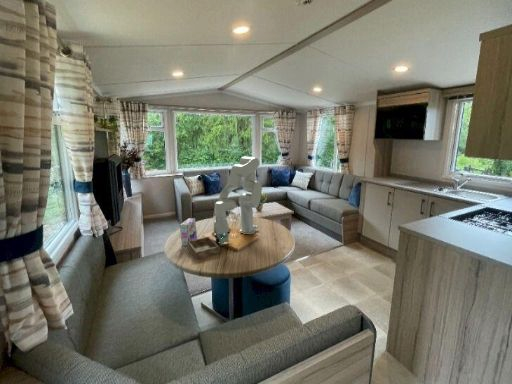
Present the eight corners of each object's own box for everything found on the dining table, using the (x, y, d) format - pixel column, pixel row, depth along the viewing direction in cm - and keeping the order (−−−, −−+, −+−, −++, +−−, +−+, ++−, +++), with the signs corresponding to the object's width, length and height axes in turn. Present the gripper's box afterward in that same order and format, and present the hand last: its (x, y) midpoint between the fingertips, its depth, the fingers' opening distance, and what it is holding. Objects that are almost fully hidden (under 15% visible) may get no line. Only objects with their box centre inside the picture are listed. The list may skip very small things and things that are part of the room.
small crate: (223, 239, 191) (222, 232, 190) (228, 243, 183) (228, 237, 182) (215, 240, 188) (215, 234, 187) (221, 245, 180) (220, 239, 179)
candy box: (189, 246, 180) (187, 224, 177) (181, 246, 182) (179, 224, 178) (197, 238, 194) (195, 218, 190) (190, 238, 195) (188, 217, 191)
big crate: (209, 242, 186) (208, 236, 185) (220, 253, 169) (219, 246, 168) (187, 248, 178) (187, 241, 177) (196, 259, 161) (196, 252, 160)
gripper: (229, 215, 189) (230, 237, 193) (207, 219, 180) (209, 242, 184) (233, 217, 182) (235, 240, 187) (211, 222, 174) (212, 246, 178)
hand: (222, 241), depth 186 cm, fingers closed on small crate, 6 cm apart
